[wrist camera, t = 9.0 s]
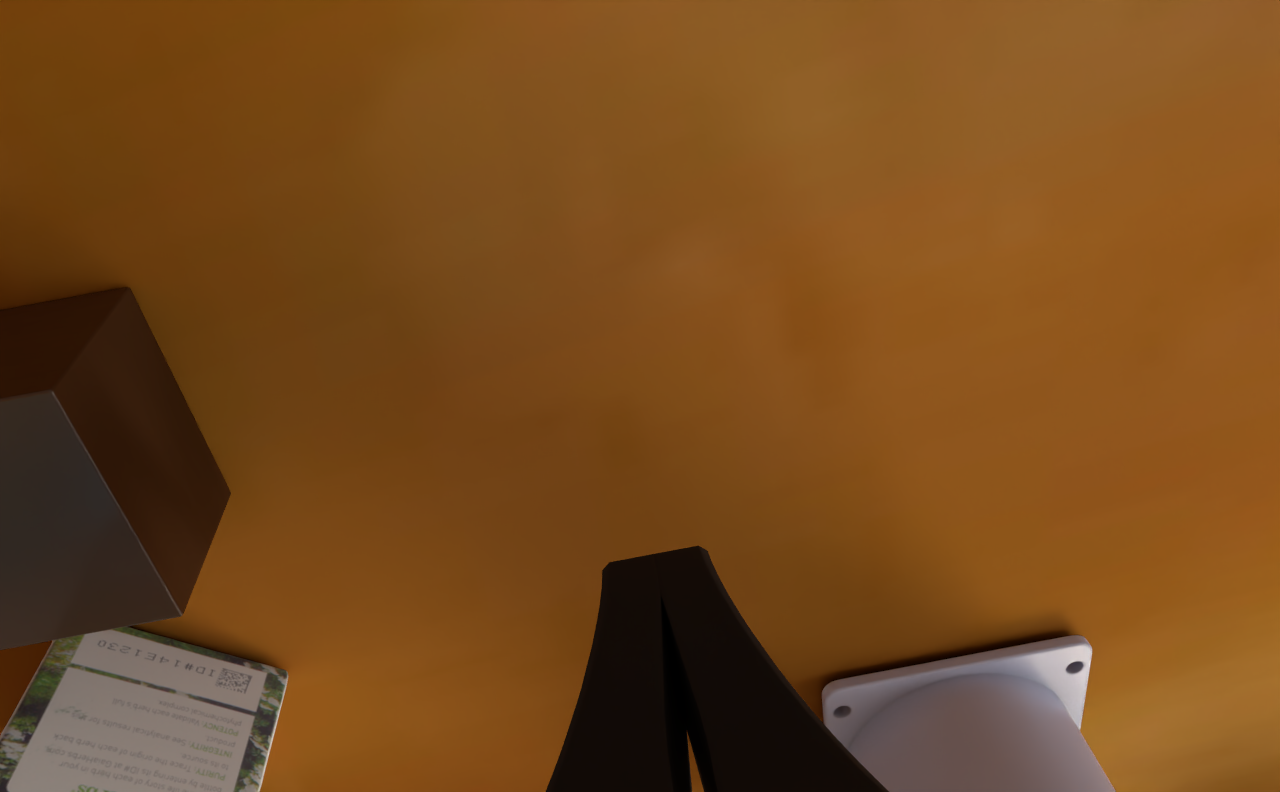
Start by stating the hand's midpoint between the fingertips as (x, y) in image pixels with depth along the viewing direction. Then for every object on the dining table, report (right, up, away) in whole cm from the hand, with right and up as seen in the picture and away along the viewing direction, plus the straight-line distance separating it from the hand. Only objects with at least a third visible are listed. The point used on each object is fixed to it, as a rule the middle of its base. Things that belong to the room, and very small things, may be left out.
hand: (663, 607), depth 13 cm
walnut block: (-13, +2, +8) cm, 15 cm away
